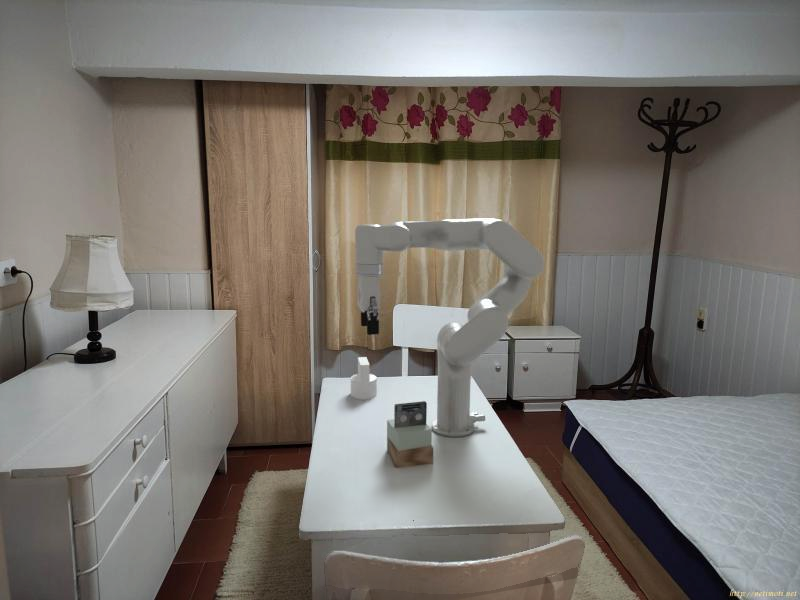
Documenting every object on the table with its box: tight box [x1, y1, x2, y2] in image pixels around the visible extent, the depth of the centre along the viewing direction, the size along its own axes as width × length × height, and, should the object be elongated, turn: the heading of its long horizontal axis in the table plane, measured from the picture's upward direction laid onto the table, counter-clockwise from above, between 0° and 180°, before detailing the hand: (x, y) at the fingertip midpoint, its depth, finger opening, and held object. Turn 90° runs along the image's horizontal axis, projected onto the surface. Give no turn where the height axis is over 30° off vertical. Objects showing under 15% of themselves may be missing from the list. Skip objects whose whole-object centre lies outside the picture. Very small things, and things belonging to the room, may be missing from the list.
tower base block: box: [386, 436, 434, 469], centre depth 142 cm, size 10×10×5 cm
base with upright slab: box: [350, 356, 378, 400], centre depth 185 cm, size 9×9×12 cm
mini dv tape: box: [393, 400, 428, 428], centre depth 140 cm, size 8×2×6 cm, turn 105°
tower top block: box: [386, 418, 433, 451], centre depth 141 cm, size 9×9×4 cm
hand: (369, 329), depth 152 cm, fingers open, 9 cm apart
